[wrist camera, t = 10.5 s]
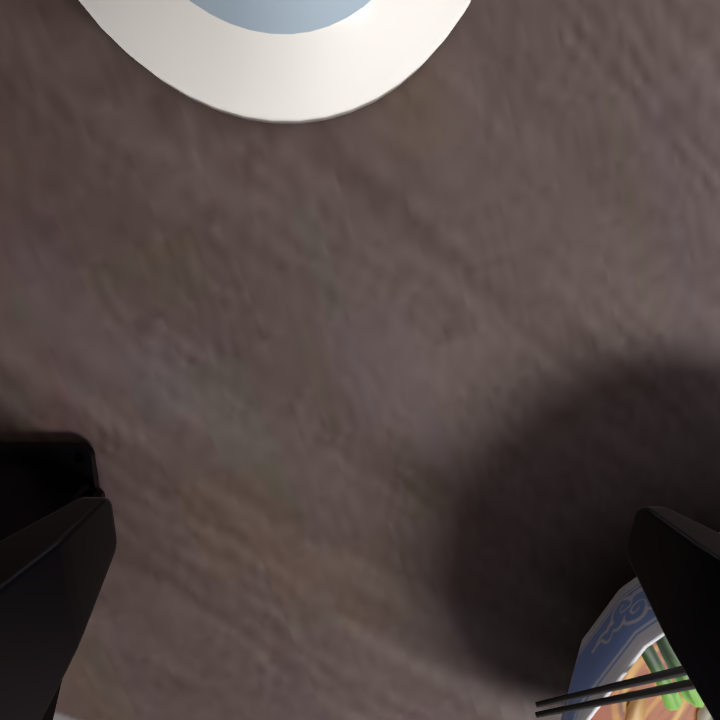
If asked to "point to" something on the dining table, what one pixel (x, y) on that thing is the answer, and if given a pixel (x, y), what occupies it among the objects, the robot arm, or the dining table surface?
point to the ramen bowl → (628, 669)
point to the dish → (280, 50)
